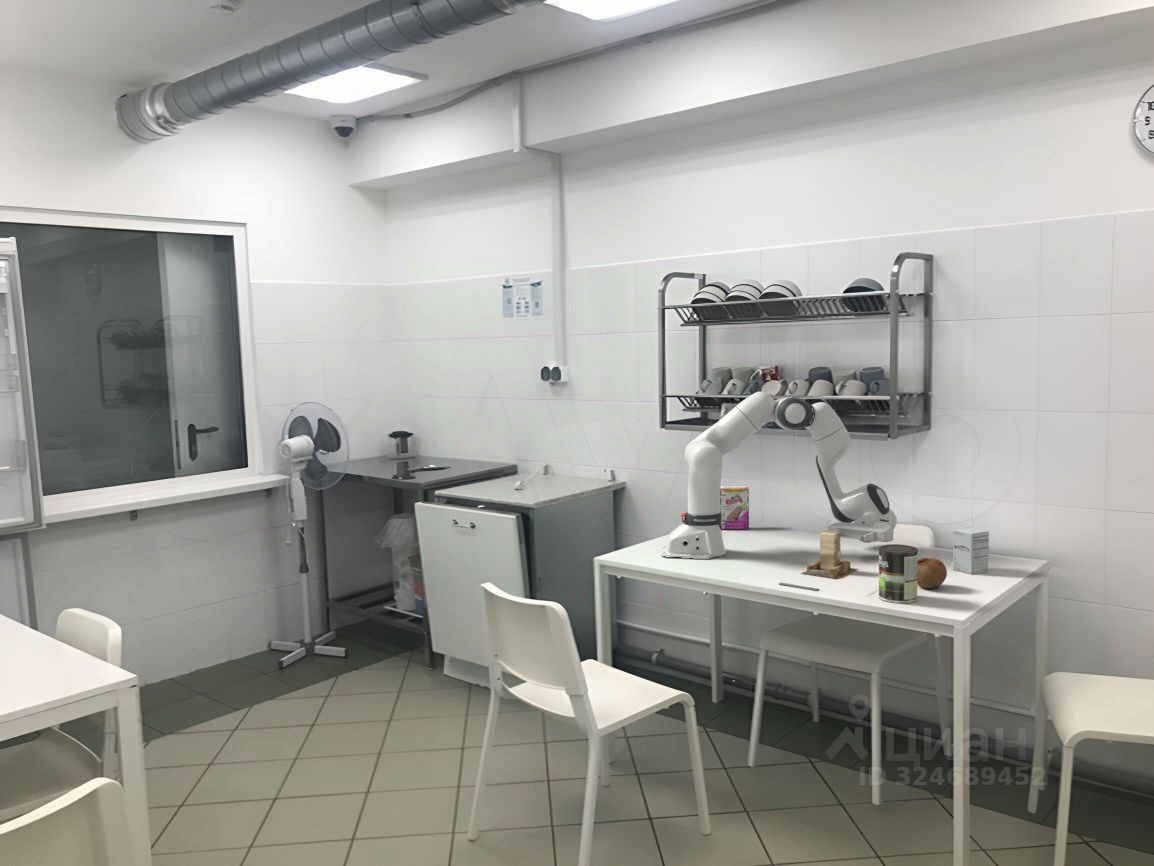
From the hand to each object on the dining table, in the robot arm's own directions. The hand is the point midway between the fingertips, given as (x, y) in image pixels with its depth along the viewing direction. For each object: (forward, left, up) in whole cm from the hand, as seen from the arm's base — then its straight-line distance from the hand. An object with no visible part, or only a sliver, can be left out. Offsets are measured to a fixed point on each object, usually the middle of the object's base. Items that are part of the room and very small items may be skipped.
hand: (849, 536), depth 286 cm
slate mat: (-16, -22, -9) cm, 29 cm away
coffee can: (+7, -38, -9) cm, 40 cm away
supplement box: (+35, -8, -9) cm, 37 cm away
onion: (+18, -27, -9) cm, 34 cm away
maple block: (-7, -10, -9) cm, 15 cm away
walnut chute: (-7, -10, -9) cm, 15 cm away
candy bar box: (-33, +57, -9) cm, 67 cm away
